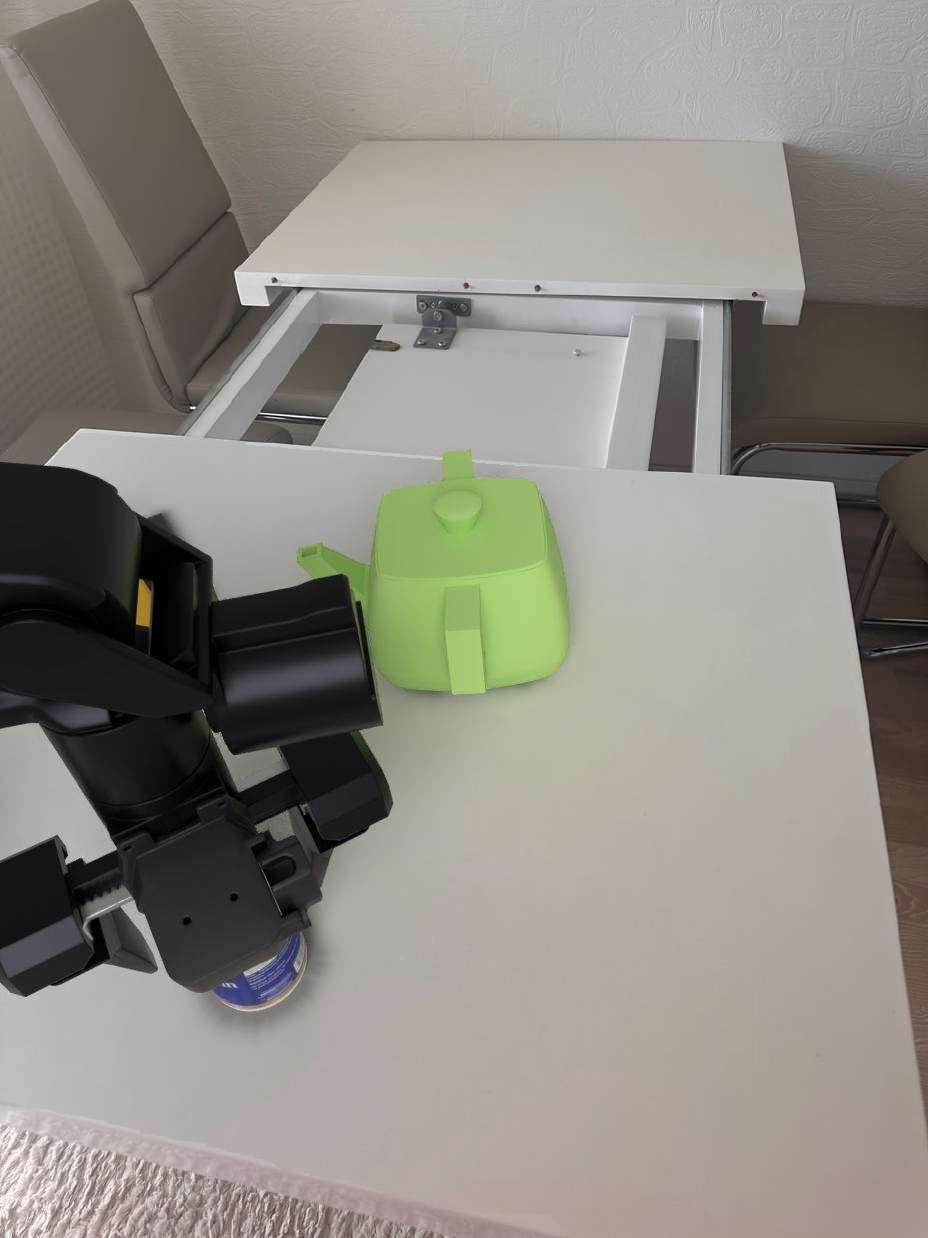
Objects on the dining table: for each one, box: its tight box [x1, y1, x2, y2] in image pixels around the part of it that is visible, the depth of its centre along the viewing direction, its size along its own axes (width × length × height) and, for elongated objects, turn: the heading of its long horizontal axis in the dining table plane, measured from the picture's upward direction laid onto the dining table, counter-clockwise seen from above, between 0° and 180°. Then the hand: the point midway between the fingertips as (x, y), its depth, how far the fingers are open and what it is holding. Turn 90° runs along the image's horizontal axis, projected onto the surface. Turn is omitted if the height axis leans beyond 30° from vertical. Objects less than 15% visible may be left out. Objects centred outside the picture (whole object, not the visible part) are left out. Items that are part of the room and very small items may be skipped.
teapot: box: [295, 448, 570, 696], centre depth 67 cm, size 18×20×13 cm
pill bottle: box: [211, 864, 308, 1012], centre depth 51 cm, size 6×6×10 cm
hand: (235, 922), depth 51 cm, fingers open, 9 cm apart
